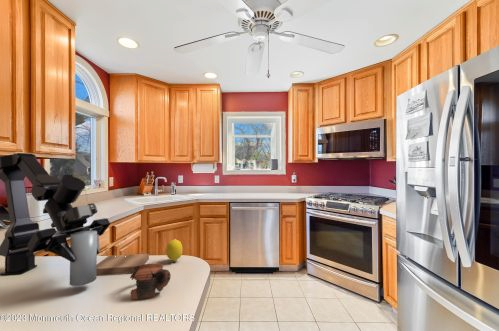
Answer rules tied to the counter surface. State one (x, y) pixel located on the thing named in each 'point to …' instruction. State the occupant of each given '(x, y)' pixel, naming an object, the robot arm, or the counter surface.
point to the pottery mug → (149, 280)
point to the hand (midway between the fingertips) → (86, 257)
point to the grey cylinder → (83, 257)
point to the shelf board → (121, 264)
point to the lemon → (174, 250)
